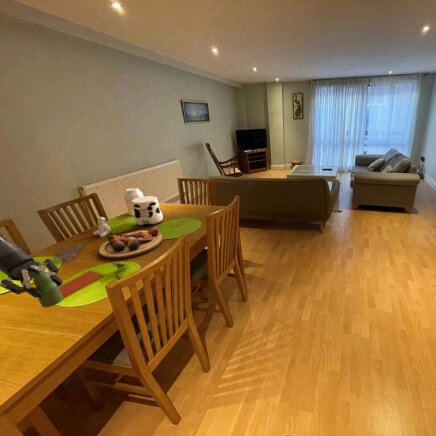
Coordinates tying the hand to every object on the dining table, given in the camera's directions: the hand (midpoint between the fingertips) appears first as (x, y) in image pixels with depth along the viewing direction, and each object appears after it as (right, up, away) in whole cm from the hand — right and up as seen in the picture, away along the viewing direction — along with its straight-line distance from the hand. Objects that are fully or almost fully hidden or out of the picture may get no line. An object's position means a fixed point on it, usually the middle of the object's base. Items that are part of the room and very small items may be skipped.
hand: (51, 290), depth 82 cm
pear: (-2, -5, +2) cm, 6 cm away
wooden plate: (-12, +8, +60) cm, 62 cm away
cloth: (-15, -6, +26) cm, 31 cm away
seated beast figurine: (-40, +14, +75) cm, 86 cm away
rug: (-43, +5, +52) cm, 67 cm away
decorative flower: (+2, -2, +34) cm, 34 cm away
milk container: (-20, +21, +91) cm, 96 cm away
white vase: (-40, +29, +109) cm, 120 cm away
